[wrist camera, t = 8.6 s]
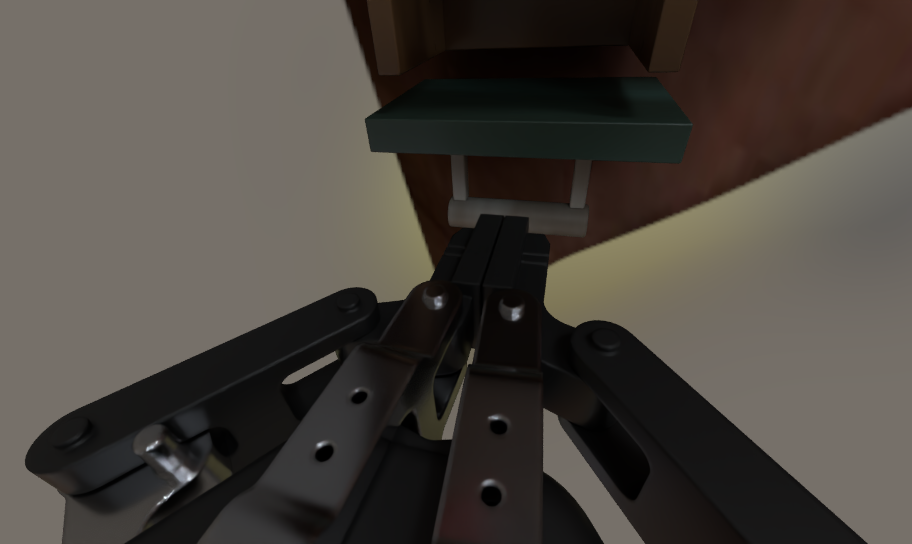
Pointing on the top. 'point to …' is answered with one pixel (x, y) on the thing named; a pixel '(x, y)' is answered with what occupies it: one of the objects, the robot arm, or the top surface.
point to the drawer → (531, 94)
